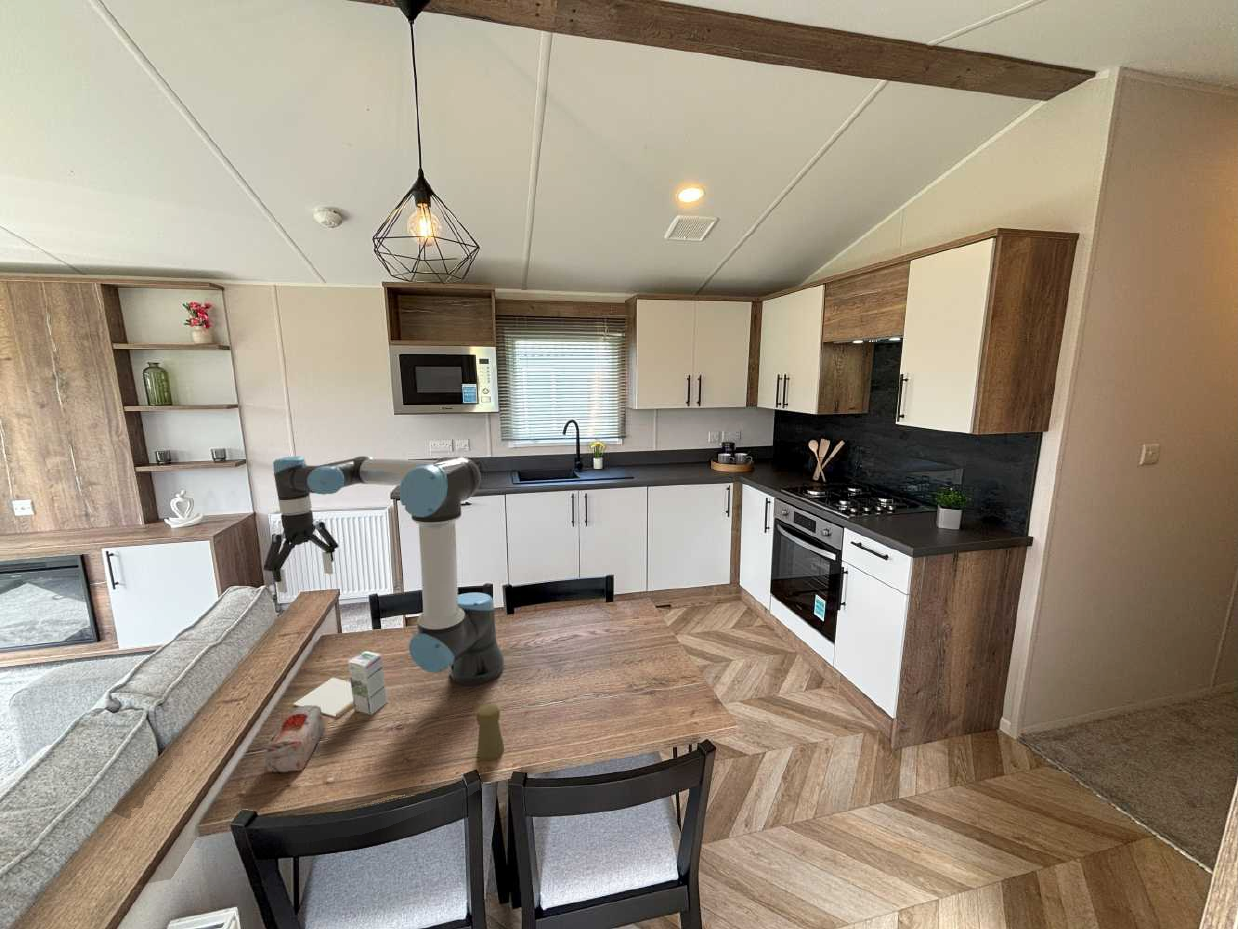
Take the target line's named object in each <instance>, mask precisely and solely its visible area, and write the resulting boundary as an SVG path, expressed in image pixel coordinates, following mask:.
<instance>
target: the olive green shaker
mask: <svg viewBox="0 0 1238 929" xmlns="http://www.w3.org/2000/svg"><path fill="white" fill-rule="evenodd" d="M500 717H501V712H500V708H499V707H498V706H497V705H496V704H492V703H489V704H488V703H487V704H485V705H482V706H480V707H479V708H478V710H477V712H476V722H477V724H478V725H479V726H478V727H479V728H478V739H477V740H478V742H477V754H476V755H477V757H478V759H479V760H481V761H484V762H489V761H495V760H496V759H499V757H501V756H502V754H504V752H505V745H504V741H503V738H502V737H503V736H502V731H501V728H500V723H499V720H500V719H501V718H500Z"/></svg>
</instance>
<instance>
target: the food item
mask: <svg viewBox="0 0 1238 929" xmlns="http://www.w3.org/2000/svg"><path fill="white" fill-rule="evenodd" d="M280 722H281V728H280V729H279V731H278V730H277V729H276V730H275V731H274V733H273V734H272V735H271V737H270V739H269V743H268V745H267V748H266V750H265V752H264V757H265V764H266V766H267V767H266V768H267V772H270V773H272V772H275V773H276V772H281V773H286V772H300V771H303V770H304V769H305V767H306V764H307V763H308V762H309V760H310V758H311V756H312V754H313V752H314V751H315V749H316V747H317V744H319V743H318V742H319V741H320V739H321V738H322V735H323V733H324V731H325V722H324V718H323V714H322V711H321V709H320V707H319V706H316V705H315V706H312V705H306V706H301V707H298V706H296V707H295V708H294V709H293V711H292V712H291V714H290V715H289V716H288V718H284V717H282V718H281V719H280ZM277 731H278V732H277Z"/></svg>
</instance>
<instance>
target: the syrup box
mask: <svg viewBox="0 0 1238 929" xmlns="http://www.w3.org/2000/svg"><path fill="white" fill-rule="evenodd" d="M347 667H348V673H349V682H351V688H352V695H353V702H354V707H353V708H354V712H357V713H361V714H365V715H368V716H372V715H374V714H375V713H376V712H378V711H379V710H380V709H382V707H384V706H385V705H386V704H387V703H388V698H387V693H386V684H385V677H384V669H383V660H382V654H380V653H376V652H372V651H366V650H364V651H362V652H360V653H359V654H356V655H355V656H353V658H351V659H350V660H349V661H347Z"/></svg>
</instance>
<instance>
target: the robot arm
mask: <svg viewBox="0 0 1238 929" xmlns="http://www.w3.org/2000/svg"><path fill="white" fill-rule="evenodd" d="M272 464H273V476H274V481H275V482H274V484H275V488H276V494H277V499H278V506H279V511H280V513H281V515H280V520H281V526H282V529H283V533H278V534H276V533H273V534H271V543H270V546H269V550H268V552H267V556H266V559H265V562H264V565H263V570H264V571H266V572H271V573H272V577H273V582H275V583H276V584H277V590H278V592H280V593H283V594H285V593H288V587H287V581H286V575H285V569H282V568H283V566H284V564H285V562H286V561H287V559H288V558H289V555H290V554H291V552H292V551H293V549H294V548H295V547H296V546H299V545H302V544H303V543H304V544H305V543H309V541H310V542H312V543H313V544H314V545H316V546H317V547H318V548H320V549H321V550H322V551H323V552H321V554H322V562H323V569H324V574H328V575H333V574H334V569H333V562H334V553H335V551H336V549H337V548H339V544H338V543H337V541H336V540H335V539H334V537H333V535H332V534H331V533H330V531H328V528H327V527H326V524H325V522H324V521H318V520H317V521H315V523H314V515H313V510H311V509H312V499H311V494H317V495H323V496H325V495H334V494H337V493H339V491H340V490H341V489H343V488H346V487H349V486H354V485H358V484H360V485H378V486H379V485H381V486H382V485H383V486H398V487H399V493H398V494H399V500H400V502H401V505H402V506H404V510H405V511H406V512H407V513H408V514H409V515H411V520H412V521H413V522H414V523H416V524H417V525H418V535H419V554H420V557H419V559H420V572H421V574H420V575H421V577H420V578H421V591H422V593H421V594H422V611H423V612H421V613H420V614H419V615H418V617H417V633H416V634H414V635H413V636H412V638H411V639H410V640H409V643H408V650H409V654H410V655H409V656H410V657H411V659H412V660H413V662H414V663H415V664H416V665H417V666H418V667H419V668H421V669H422V670H424V671H425V672H428V673H433V674H438V673H441V672H444V671H446V670H447V669H448V668H450V676H451V678H452V680H453V682H455V683H458V684H460V685H463V686H474V685H475V686H477V685H481V684H484V683H487V682H490V681H492V680H494V679H495V678H497V677H498V676H499V675H500V674H501V673H502V672H503V670H504V668H505V660H504V655H503V654H502V652H501V649H500V647H499V645H498V642H497V631H496V617H495V616H496V614H495V609H496V607H495V603H494V598H493V597H492V596H491V595H490V594H487V593H483V592H467V593H461V594H459V586H458V584H459V583H458V563H457V561H458V559H457V537H456V536H457V534H456V533H457V532H456V522H457V521H458V520H459V519H460V518H461V517H462V502H464V501H465V500H468V499H470V498H471V497H473V496H474V495H475V494H476V493H477V491H478V490H479V488H480V486H481V481H482V474H481V471H480V468H479V467H478V465H477V464H476V463H475V462H474V461H472V460H471V459H469V457H464V456H452V457H450V456H443V457H440V458H437V460H435V459H434V460H432V459H431V460H427V459H425V460H424V459H397V458H395V459H394V458H393V459H392V458H389V459H388V458H374V457H372V455H371V456H370V455H363V456H356V457H354V458H349V459H345V460H340V461H339V460H338V461H334V462H330V463H325V464H320V465H308V464H307V463H306V461H305V458H304V457H303V456H287V457H285V456H284V457H279V458H276V459H275V460H274V461H273V463H272ZM315 531H317V532H318V533H319V534H320V536H321V537H322V538H323V540H322V539H320V538H319V537H318V536H317V535H316V534H314V532H315ZM284 539H285V540H284ZM282 542H283V543H282ZM281 547H282V548H281Z"/></svg>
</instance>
